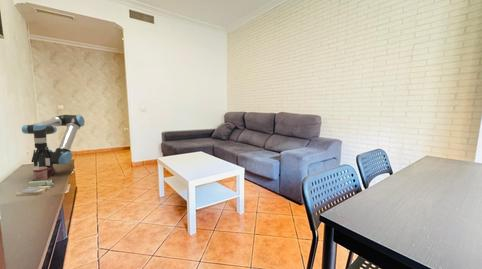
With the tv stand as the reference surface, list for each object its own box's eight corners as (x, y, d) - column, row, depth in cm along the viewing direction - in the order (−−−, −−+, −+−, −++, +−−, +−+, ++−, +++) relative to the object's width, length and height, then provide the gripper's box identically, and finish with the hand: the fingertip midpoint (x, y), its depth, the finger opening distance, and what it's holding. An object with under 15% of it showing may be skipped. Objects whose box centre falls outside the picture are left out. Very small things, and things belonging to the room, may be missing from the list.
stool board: (34, 186, 173) (33, 179, 172) (54, 185, 176) (53, 178, 175) (16, 196, 155) (15, 188, 155) (39, 194, 159) (38, 187, 158)
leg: (53, 183, 175) (52, 178, 174) (51, 185, 171) (50, 180, 171) (30, 185, 170) (29, 180, 169) (27, 186, 166) (27, 181, 166)
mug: (37, 186, 174) (35, 170, 172) (31, 184, 177) (30, 168, 176) (56, 181, 185) (54, 166, 183) (50, 179, 189) (49, 165, 187)
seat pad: (27, 187, 166) (27, 187, 166) (44, 187, 168) (43, 186, 168) (16, 193, 155) (16, 193, 155) (34, 192, 158) (34, 192, 158)
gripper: (35, 145, 165) (37, 171, 168) (55, 140, 189) (56, 163, 192) (23, 145, 163) (26, 172, 166) (45, 140, 188) (47, 163, 190)
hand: (42, 167), depth 179 cm, fingers open, 13 cm apart
